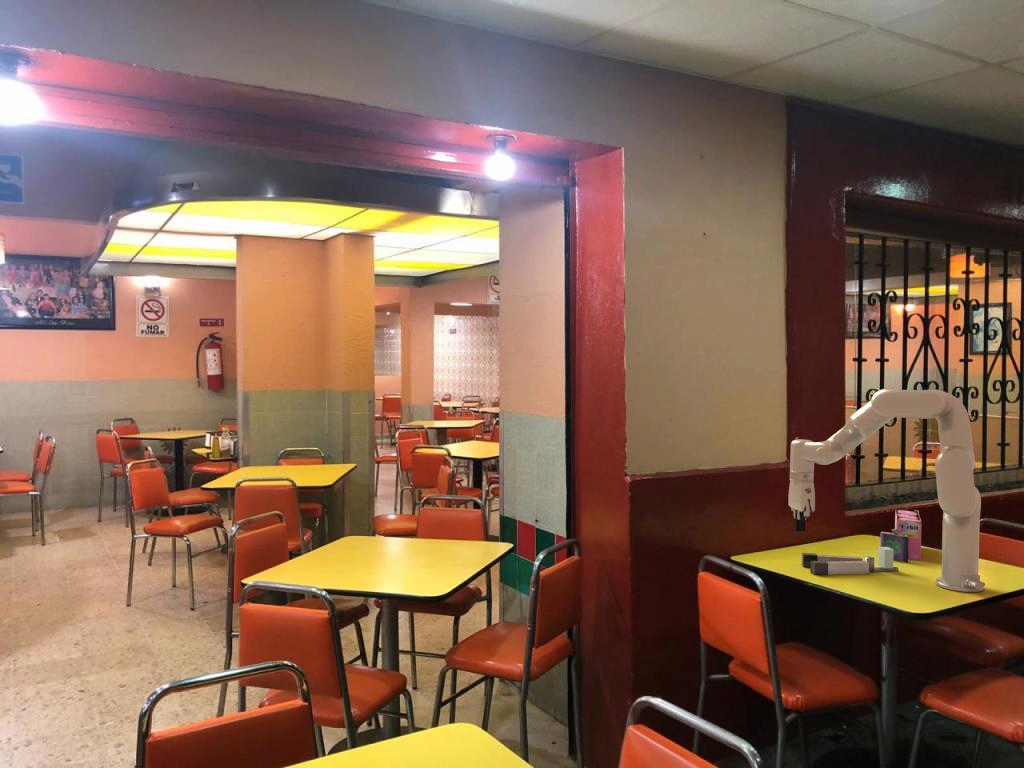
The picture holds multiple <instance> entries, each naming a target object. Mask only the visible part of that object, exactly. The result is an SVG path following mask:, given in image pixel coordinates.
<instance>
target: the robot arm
mask: <svg viewBox="0 0 1024 768" xmlns="http://www.w3.org/2000/svg"><path fill="white" fill-rule="evenodd" d="M894 418H900V419H901V418H904V419H923V420H924V419H926V420H927V419H928V420H929V419H935V420H936V421H937V425H938V437H939V448H940V449H939V450H940V452H938V454H937V456H936V458H935V462H934V467H935V478H936V479H935V482H936V489H937V490H936V491H937V492H936V493H937V501H938V504H939V506H940V508H941V511H943V513H942V532H941V533H942V534H941V535H942V536H941V537H942V539H941V577H938V578H936V579H935V584H936V585H937V587H940V588H943V589H947V590H951V591H954V592H964V593H979V592H983V591H984V590H985V587H986V583H985V582H984V581H981V575H979V565H980V561H979V559H980V558H979V557H980V554H979V553H980V526H981V525H980V523H981V521H980V520H981V508H982V507H981V506H982V499H981V498H982V497H981V494H980V493H981V492H979V491H980V490H979V489H978V488H977V487H976V486H975V478H974V469H975V467H976V458H975V451H974V444H973V443H974V442H973V436H972V430H971V421H970V416H969V414H968V411H967V409H966V406H965V405H964V404H963V402H962V401H961V400H960V399H959V398H958V397H956V396H954V395H953V394H951V393H948V392H947V391H946V392H945V391H943V390H941V389H940V390H939V389H933V388H932V389H919V390H918V389H896V388H893V387H890V388H883V389H882V388H881V389H880V390H877V391H876V392H875V393H874V394H873V395H872V397H871V399H870V400H869V401H868V402H866V403H865V404H864V405H862V406H861V407H860V408H859V409H857V410H856V411H855V412H854V413H852V414H851V415H850V417H849V418H848V419H847V422H846V423H845V424H844V426H843V427H842V428H840V429H839V430H838V431H837V432H836V433H834V434H833V435H832V436H830V437H829V438H828V439H826V440H824V441H823V440H822V441H817V442H815V441H812V440H810V439H802V438H801V439H800V438H799V439H794V440H792V441H791V442H790V458H789V459H790V461H789V465H790V466H789V481H790V482H789V488H788V503H787V504H788V506H789V507H790V510H791V512H793V530H794V531H795V532H805V531H806V521H807V518H808V517H811V512H812V513H814V512H815V510H816V508H815V507H816V493H815V484H814V483H815V482H814V477H815V472H814V471H815V464H817V465H823V466H825V465H826V466H827V465H830V464H833V463H836V462H838V461H839V460H841V459H843V458H844V457H845V456H846V455H848V454H849V453H850V452H851V451H853V450H855V449H856V448H857V447H858V446H859V445H860V444H862V443H863V442H864V441H866V440H868V439H869V438H870V437H871V436H872V435H873V434H874V433H876V432H877V431H879V430H880V429H881V428H883V426H886V424H888V423H889V422H890V421H892V420H893V419H894Z"/></svg>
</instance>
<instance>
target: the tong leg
mask: <svg viewBox="0 0 1024 768" xmlns="http://www.w3.org/2000/svg"><path fill="white" fill-rule="evenodd" d="M811 561H825V562H834V561H864V560H863V557H862V556H849V555H834V554H833V555H829V554H817V553H816V552H815V553H813V552H801V566H803V567H806V568H807V567H809V568H811Z"/></svg>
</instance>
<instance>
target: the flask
mask: <svg viewBox="0 0 1024 768" xmlns="http://www.w3.org/2000/svg"><path fill="white" fill-rule="evenodd" d="M896 530H897V529H895V528H893V529H891V531H892V532H888V531H887V532H886V531H881V532H880V533H879V536H880V539H879V540H880V545H879V547H889V548H891V549H894V554H893V562H894V561H895V562H899V563H905V564H907V563H909V559H908V557H909V555H908V554H909V553H908V540H909V539H908V536H907V535H904V534H901V533H899V532H897V531H896Z"/></svg>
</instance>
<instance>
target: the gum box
mask: <svg viewBox="0 0 1024 768" xmlns="http://www.w3.org/2000/svg"><path fill="white" fill-rule="evenodd" d="M894 513H895V514H894V515H895V516H894V521H895V522H894V529H897V530H896V531H897V532H899V533H901V534H904V535H907V536H908V539H909V540H908V553H909V554H908V555H909V557H908V560H911V561H921V557H922V556H921V555H922V553H921V552H922V519H921V517H920V511H919V510H918V509H914V510H913V511H909V510H900V508H895V512H894Z"/></svg>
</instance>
